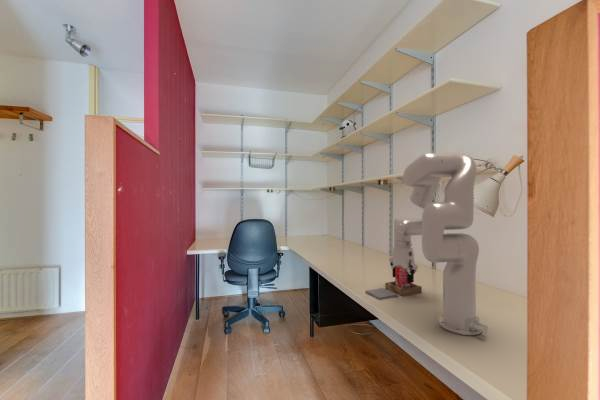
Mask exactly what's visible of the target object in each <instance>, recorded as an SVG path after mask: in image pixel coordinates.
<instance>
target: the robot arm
mask: <svg viewBox="0 0 600 400" xmlns="http://www.w3.org/2000/svg"><path fill="white" fill-rule="evenodd" d="M442 178H450V179H449V180H448V182H447V183H446V185H445V188H444V200H443V201H433V200H434V197H435V195H436V192H437V190H438V187H439V184H440V182H441V180H442ZM476 178H477V165H476V162H475V161H474V159H473V158H472V157H471V156H469V155H467V154H464V153H455V152H454V153H453V152H443V153H442V152H439V153H437V152H428V153H423V154H421V155H420V156H419V157H417V158H416V159H414V160H413V161H412V162H410V164H409V165H408V166H407V167H406V168H405V169H404V171H403V174H402V182H403V184H404V185H405V186H407V187H413V189H412V192H411V194H410V197H409V199H410V202H411V203H412V204H413V205H415V206H416V207H419V208H422V209H423V212H422V214H421V218H406V217H396V218H394V221H393V230H394V231H393V235H394V236H393V239H394V240H393V243H394V245H393V249H392V257H390V258H389V259H388V260H389V264H390V266H391V269H392V277H393V278H395V269H396V267H397V266H399V267H403V269H406V270H407V272H408V275H407V282H408V283H414V282H415V277H414V276H415V275H414V274H416V272H417V270H418V268H419V266H418V265H417V264H416V262H415V255H414V249H413V247H412V245H413V243H412V236H413V237H414V236H421V248H422V250H421V251H422V254H423V256H424V258H425V259H426V260H427V261H428V262H431V263H435V264H437V263H446V264H445V266H444V269H443V273H442V293H443V295H442V300H443V303H442V304H443V305H442V309H443V310H442V311H443V316H440V317H439V318H438V325H439V326H440V327H441V328H443V329H445V330H447V331H449V332H451V333H454V334H458V335H462V336H478V335H480V334H483V335H486V334H487V332H488V325H486V324H485V323H481V322H480V317H479V316H477V299H476V298H477V297H476V296H477V295H476V293H477V291H476V289H477V288H476V283H477V282H476V275H477V274H476V270H477V263H478V259H479V258H478V257H479V253H480V247H479V243H478V241H477V240H476V239H477V238H475V237H474V236H472V235H471V234H467V233H464V232H463V233H462V232H457V233H456V232H452V233H451V232H450V233H444V232H445V231H447V230H448V231H449V230H450V231H452V230H453V231H455V230H465V229H468V228H470V227H471V226H472V225H473V222H474V202H475V201H474V199H475V198H474V196H475V195H474V194H475V193H474V192H475V191H474V189H475V181H476ZM409 269H410V270H411V271H410V270H409Z"/></svg>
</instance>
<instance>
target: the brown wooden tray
mask: <svg viewBox="0 0 600 400" xmlns="http://www.w3.org/2000/svg"><path fill="white" fill-rule="evenodd" d="M384 285H385V289H386V290H389V291H391V292H393V293H396V294H398V296H401V297H406V296H412V295H417V294H422V291H423V289H422V285H418V284H416V283H414V282H412V283H411V287H409V288H400V287H397V286H395V280H393V281H389V282H385V284H384Z"/></svg>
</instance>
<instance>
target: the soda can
mask: <svg viewBox="0 0 600 400" xmlns="http://www.w3.org/2000/svg"><path fill="white" fill-rule="evenodd" d="M409 270H410V269H409ZM410 271H411V270H410ZM407 275H408V272H407V270H406V269H403V267H399V266H397V267H396V269H395V277H394V278H395V279H394V281H395V286H397V287H400V288H409V287H411V283H408V282H407Z"/></svg>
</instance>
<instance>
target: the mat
mask: <svg viewBox="0 0 600 400" xmlns="http://www.w3.org/2000/svg"><path fill="white" fill-rule="evenodd" d="M365 294H367V295H369V296H372V297H373V298H375V299H377V300H379V301H381V300H387V299H392V298H397V297H398V296H399V295H398V294H396V293H394V292H391V291H389V290H387V289H386V288H384V287H380V288H374V289H368V290H365Z"/></svg>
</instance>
